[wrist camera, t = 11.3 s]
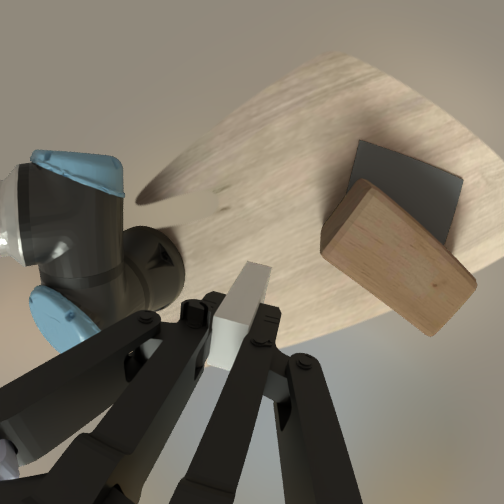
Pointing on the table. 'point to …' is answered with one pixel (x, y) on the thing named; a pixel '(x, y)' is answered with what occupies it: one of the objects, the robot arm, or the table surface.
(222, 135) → the table surface
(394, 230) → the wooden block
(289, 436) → the robot arm
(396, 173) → the mat
